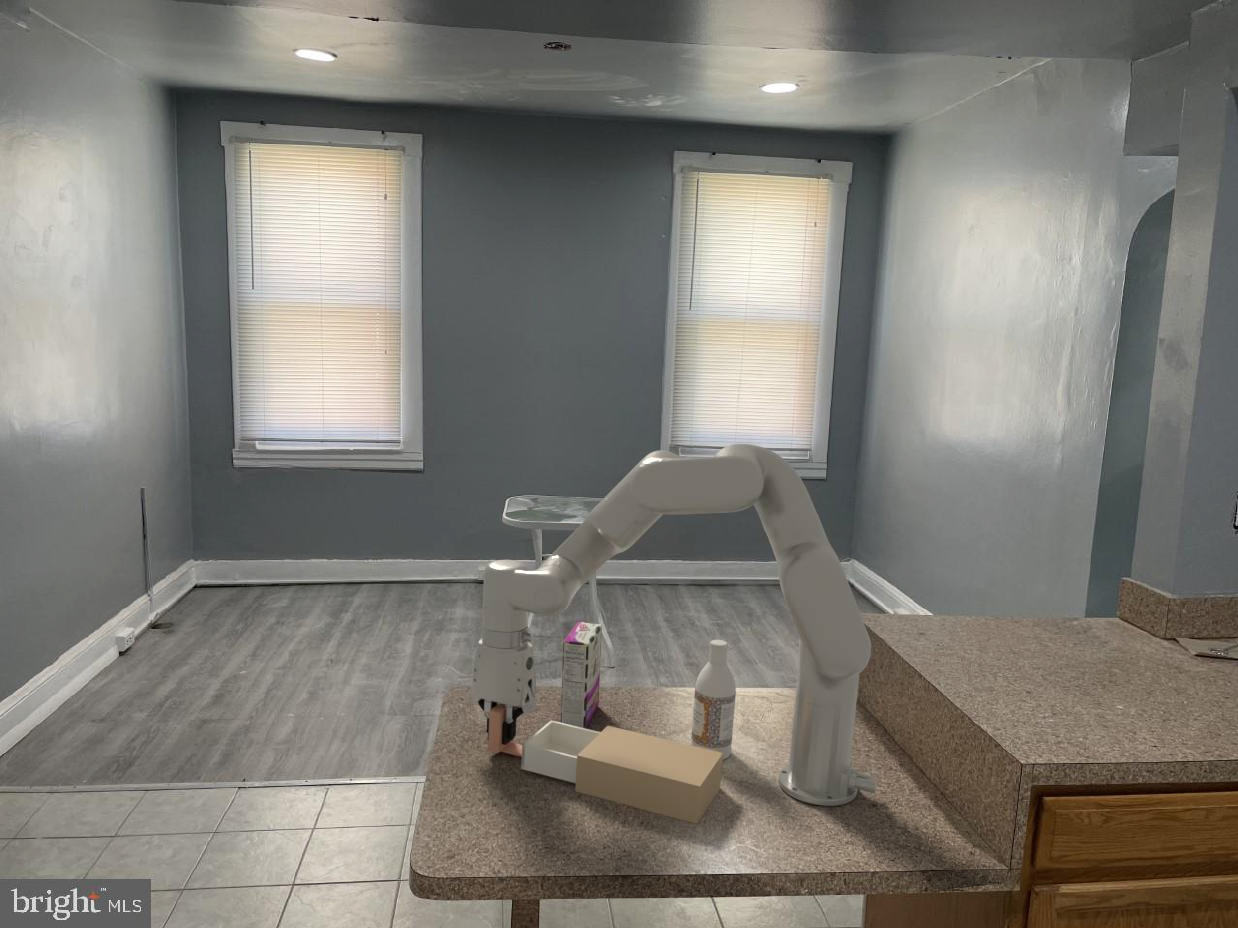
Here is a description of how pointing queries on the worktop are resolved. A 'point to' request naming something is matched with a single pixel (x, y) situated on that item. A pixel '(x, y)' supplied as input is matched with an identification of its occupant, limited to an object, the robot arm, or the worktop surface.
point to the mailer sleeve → (649, 773)
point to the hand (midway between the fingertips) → (501, 738)
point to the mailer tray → (543, 746)
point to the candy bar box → (581, 674)
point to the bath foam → (714, 703)
